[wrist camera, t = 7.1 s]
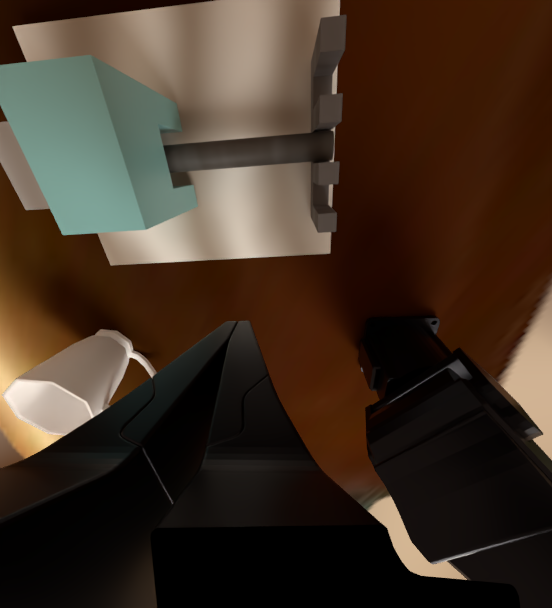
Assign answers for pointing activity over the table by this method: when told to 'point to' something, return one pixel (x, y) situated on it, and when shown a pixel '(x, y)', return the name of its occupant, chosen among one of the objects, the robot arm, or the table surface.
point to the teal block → (94, 143)
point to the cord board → (220, 121)
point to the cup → (73, 383)
